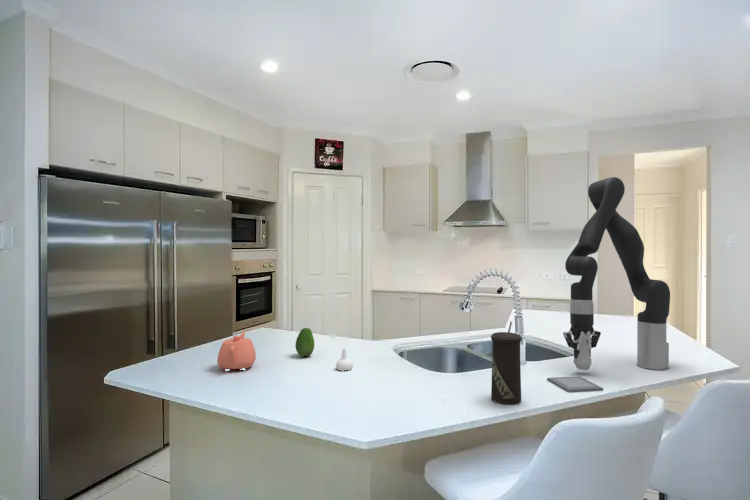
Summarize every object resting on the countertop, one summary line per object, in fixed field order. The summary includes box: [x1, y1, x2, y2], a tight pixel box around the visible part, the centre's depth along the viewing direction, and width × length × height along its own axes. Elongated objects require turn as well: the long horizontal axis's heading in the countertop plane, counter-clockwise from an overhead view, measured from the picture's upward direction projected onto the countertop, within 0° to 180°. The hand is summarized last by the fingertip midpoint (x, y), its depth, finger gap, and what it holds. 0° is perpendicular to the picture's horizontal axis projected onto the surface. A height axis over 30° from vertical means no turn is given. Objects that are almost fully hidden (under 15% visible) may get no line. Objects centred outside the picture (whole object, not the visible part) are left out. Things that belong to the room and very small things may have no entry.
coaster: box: [546, 375, 604, 393], centre depth 137 cm, size 12×12×1 cm
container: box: [490, 331, 523, 405], centre depth 124 cm, size 9×9×20 cm
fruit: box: [294, 327, 315, 357], centre depth 173 cm, size 8×8×12 cm
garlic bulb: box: [335, 348, 354, 371], centre depth 155 cm, size 6×6×8 cm
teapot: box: [216, 331, 257, 370], centre depth 158 cm, size 13×20×12 cm, turn 5°
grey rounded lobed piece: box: [573, 333, 593, 371], centre depth 149 cm, size 6×6×13 cm
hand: (582, 359), depth 149 cm, fingers closed on grey rounded lobed piece, 3 cm apart
